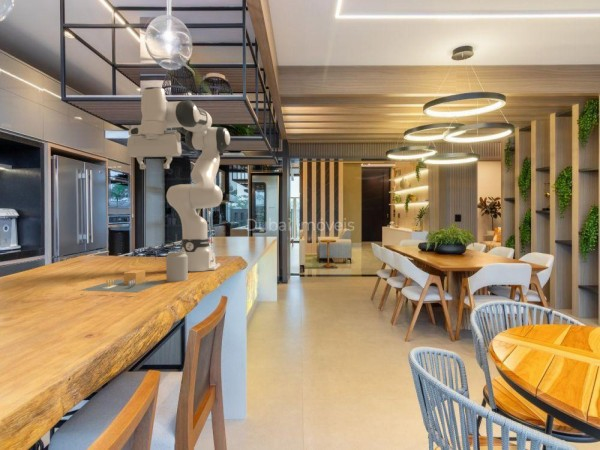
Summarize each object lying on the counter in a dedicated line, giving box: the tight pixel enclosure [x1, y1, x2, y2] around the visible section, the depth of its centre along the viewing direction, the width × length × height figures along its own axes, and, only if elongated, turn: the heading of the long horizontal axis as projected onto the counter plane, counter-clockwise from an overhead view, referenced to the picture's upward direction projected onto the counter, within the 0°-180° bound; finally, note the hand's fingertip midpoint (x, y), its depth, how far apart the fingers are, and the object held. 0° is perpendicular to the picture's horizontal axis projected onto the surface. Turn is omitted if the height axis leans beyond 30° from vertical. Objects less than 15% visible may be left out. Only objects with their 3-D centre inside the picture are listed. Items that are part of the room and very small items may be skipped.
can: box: [165, 250, 189, 283], centre depth 143 cm, size 8×8×12 cm
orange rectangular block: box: [123, 269, 146, 285], centre depth 138 cm, size 6×4×4 cm
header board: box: [80, 278, 168, 298], centre depth 133 cm, size 19×20×4 cm
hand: (154, 168), depth 144 cm, fingers open, 8 cm apart
